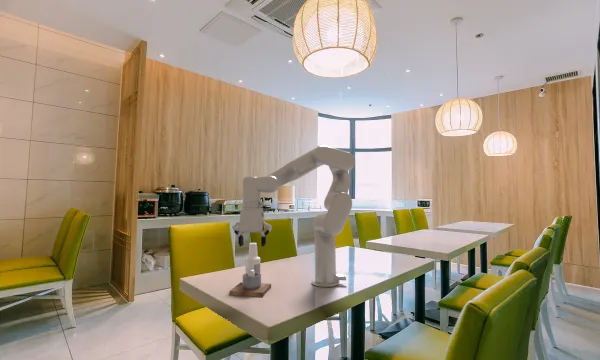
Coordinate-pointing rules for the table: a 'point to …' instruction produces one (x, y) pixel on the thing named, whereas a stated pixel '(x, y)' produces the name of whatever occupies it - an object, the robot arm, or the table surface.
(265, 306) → the table surface
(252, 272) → the steel shaft
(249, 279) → the ring
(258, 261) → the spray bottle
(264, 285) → the walnut base
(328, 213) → the robot arm
